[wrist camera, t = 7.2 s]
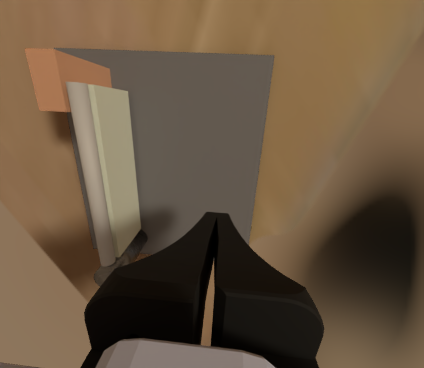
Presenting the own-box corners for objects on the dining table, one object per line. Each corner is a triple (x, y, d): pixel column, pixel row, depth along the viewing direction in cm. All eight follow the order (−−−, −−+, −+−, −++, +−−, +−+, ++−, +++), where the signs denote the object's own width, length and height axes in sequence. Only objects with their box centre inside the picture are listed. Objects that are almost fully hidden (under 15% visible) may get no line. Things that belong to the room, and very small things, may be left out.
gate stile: (114, 111, 16) (66, 111, 11) (95, 110, 16) (39, 110, 11) (109, 68, 15) (53, 49, 10) (89, 67, 15) (24, 48, 10)
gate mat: (245, 260, 20) (246, 263, 20) (95, 246, 21) (93, 248, 21) (273, 57, 14) (274, 55, 14) (58, 49, 15) (53, 47, 15)
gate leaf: (141, 228, 19) (112, 267, 14) (128, 227, 19) (96, 265, 14) (127, 91, 15) (81, 82, 10) (112, 90, 15) (58, 81, 10)
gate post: (149, 243, 21) (121, 291, 15) (131, 241, 21) (96, 288, 15) (148, 227, 20) (118, 270, 14) (129, 225, 20) (91, 268, 15)
